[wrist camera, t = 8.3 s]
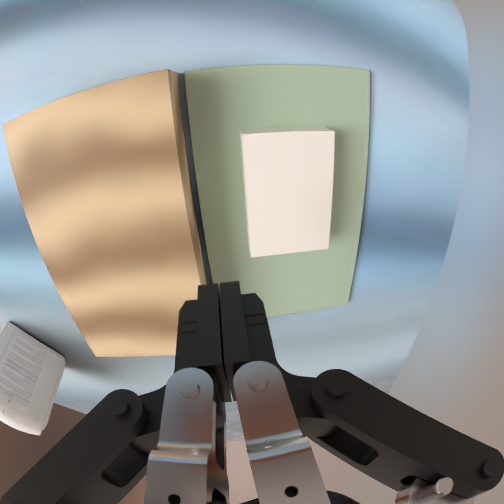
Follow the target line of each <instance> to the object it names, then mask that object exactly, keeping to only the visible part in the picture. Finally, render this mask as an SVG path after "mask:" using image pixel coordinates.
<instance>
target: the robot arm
mask: <svg viewBox="0 0 504 504" xmlns="http://www.w3.org/2000/svg"><path fill="white" fill-rule="evenodd" d="M219 287H220V291H219ZM177 333H178V334H177V342H176V356H175V370H174V374H173V375H172V376H171V377H170V378H169V380H168V382H167V384H166V385H165V386H163V387H162V388H160V389H158V390H156V391H153V392H150V393H147V394H144V395H140V396H138V395H137V394H136V393H134V392H132V391H130V390H126V389H119V390H115V391H113V392H111V393H109V394H108V395H107V396H106V397H105V398H104V399H103V400H102V401H100V402H99V403H98V404H97V405H96V406H95V407H94V408H93V409H92V410H91V411H90V412H89V413H88V414H87V415H86V416H85V417H84V418H83V419H82V420H81V421H80V422H79V423H78V424H77V425H76V426H75V427H74V428H73V429H72V430H70V432H68V433H67V434H66V435H65V436H64V437H63V438H62V439H61V440H60V441H59V442H58V443H57V444H56V445H55V446H54V447H53V448H52V449H51V450H50V451H49V452H48V453H47V454H46V455H45V456H43V457H42V459H40V460H39V461H38V462H37V463H36V464H35V465H34V466H33V467H32V468H31V469H30V470H29V471H28V472H27V473H26V474H25V475H24V476H23V477H22V478H21V479H20V480H19V481H18V482H17V483H15V484H14V485H13V486H12V487H11V488H10V489H9V490H8V491H7V492H6V493H5V494H4V495H3V496H2V498H1V501H0V504H118V503H119V502H120V501H121V500H122V499H123V498H124V497H125V496H126V495H127V494H128V493H129V491H131V490H132V489H133V488H134V486H136V484H137V483H138V482H139V481H140V480H141V479H142V478H143V477H144V476H145V475H146V483H145V494H144V504H229V484H228V483H229V482H228V476H227V468H226V411H225V402H232V401H231V393H232V397H233V401H237V405H238V410H239V415H240V419H241V424H242V429H243V433H244V438H245V442H246V447H247V452H248V457H249V461H250V466H251V470H252V474H253V478H254V482H255V487H256V491H257V495H258V498H256V499H254V500H250V501H248V502H244V503H241V504H360V503H358V502H357V501H355V500H353V499H351V498H349V497H347V496H345V495H342V494H339V493H336V492H332V491H327V490H326V489H325V486H324V483H323V480H322V477H321V474H320V471H319V469H318V466H317V463H316V460H315V457H314V454H313V451H312V449H311V446H310V443H309V442H308V439H307V438H306V437H305V436H307V437H308V438H310V439H311V440H312V441H314V442H315V443H317V444H318V445H320V446H321V447H323V448H324V449H326V450H327V451H329V452H331V453H332V454H334V455H335V456H337V457H338V458H340V459H341V460H343V461H345V462H346V463H348V464H350V465H351V466H353V467H355V468H356V469H358V470H360V471H361V472H363V473H365V474H366V475H368V476H370V477H372V478H373V479H375V480H377V481H379V482H381V483H383V484H385V485H386V486H388V487H390V488H392V489H394V490H396V491H398V493H397V495H396V499H395V504H473V502H474V500H475V498H476V496H477V495H479V494H481V493H483V492H486V491H488V490H490V489H492V488H494V487H495V486H496V485H497V484H498V483H499V482H500V480H501V478H502V476H503V474H504V458H503V456H502V454H501V453H500V452H499V451H498V450H497V449H495V448H492V447H490V446H488V445H486V444H484V443H482V442H479V441H477V440H475V439H473V438H471V437H469V436H467V435H465V434H463V433H460V432H458V431H456V430H454V429H452V428H450V427H448V426H446V425H444V424H443V423H440V422H439V421H437V420H434V419H433V418H431V417H429V416H427V415H425V414H423V413H421V412H419V411H417V410H416V409H414V408H412V407H410V406H408V405H406V404H404V403H403V402H401V401H399V400H397V399H395V398H393V397H392V396H390V395H388V394H386V393H385V392H383V391H381V390H379V389H377V388H376V387H374V386H372V385H370V384H369V383H367V382H365V381H363V380H362V379H360V378H358V377H357V376H355V375H353V374H351V373H350V372H348V371H345V370H341V369H331V370H327V371H325V372H323V373H321V374H320V375H319V376H317V378H313V377H303V376H296V375H293V374H290V373H288V372H286V371H285V370H284V369H282V368H281V367H280V365H279V364H278V362H277V360H276V357H275V352H274V348H273V343H272V339H271V335H270V330H269V326H268V321H267V317H266V312H265V308H264V303H263V301H262V300H261V299H260V298H259V296H258V295H257V294H256V293H249V294H241V291H240V284H239V281H230V282H222V283H219V285H218V283H214V284H204V285H198V296H197V299H196V300H186V301H185V302H184V304H183V306H182V307H181V309H180V310H179V317H178V329H177ZM230 389H231V391H230Z"/></svg>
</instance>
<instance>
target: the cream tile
mask: <svg viewBox="0 0 504 504" xmlns="http://www.w3.org/2000/svg"><path fill="white" fill-rule="evenodd" d="M334 140H335V131H333V130H331V129H329V128H326V127H280V128H261V129H246V130H240V142H241V156H242V169H243V182H244V196H245V209H246V222H247V235H248V245H249V250H250V255H251V258H252V257H261V256H270V255H278V254H287V253H296V252H304V251H313V250H322V249H328V247H329V236H330V223H331V209H332V193H333V173H334Z"/></svg>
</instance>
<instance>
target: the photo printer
mask: <svg viewBox="0 0 504 504" xmlns="http://www.w3.org/2000/svg"><path fill="white" fill-rule="evenodd" d="M65 366H66V360H65V358H64V357H63V356H61V355H60V354H59V353H57V352H55V351H54V350H52V349H50V348H49V347H47V346H46V345H44V344H42V343H41V342H39V341H38V340H36V339H34V338H33V337H31V336H30V335H28V334H27V333H25V332H24V331H22V330H21V329H19V328H18V327H16V326H15V325H13V324H11V323H10V322H6V323H5V324H4V326H3V327H2V329H1V331H0V420H1V421H2V422H4V423H5V424H7V425H9V426H11V427H13V428H15V429H18V430H20V431H23V432H26V433H30V434H35V435H40V434H41V431H42V430H43V429H44V428H45V427H46V425H47V423H48V420H49V416H50V412H51V409H52V405H53V402H54V399H55V396H56V393H57V389H58V386H59V383H60V380H61V377H62V374H63V371H64V369H65Z"/></svg>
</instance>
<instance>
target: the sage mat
mask: <svg viewBox="0 0 504 504" xmlns="http://www.w3.org/2000/svg"><path fill="white" fill-rule="evenodd" d="M184 75H185V86H186V96H187V106H188V115H189V124H190V133H191V141H192V149H193V157H194V165H195V173H196V180H197V187H198V194H199V201H200V208H201V215H202V221H203V228H204V234H205V240H206V247H207V253H208V259H209V264H210V270H211V276H212V282H213V284H214V283H218V285H219V283H222V282H230V281H239V284H240V291H241V294H249V293H256V294H257V295H258V296H259V298H260V299H261V300H262V301H263V303H264V308H265V312H266V317H271V316H278V315H285V314H292V313H299V312H305V311H312V310H318V309H324V308H330V307H336V306H342V305H347V304H348V301H349V295H350V290H351V285H352V280H353V274H354V268H355V262H356V256H357V250H358V243H359V236H360V229H361V221H362V213H363V204H364V195H365V184H366V173H367V159H368V143H369V117H370V71H369V70H362V69H353V68H344V67H333V66H318V65H291V64H272V65H244V66H229V67H218V68H208V69H200V70H192V71H185V72H184ZM280 127H326V128H329V129H331V130H333V131H335V140H334V173H333V193H332V209H331V223H330V236H329V247H328V249H322V250H313V251H304V252H296V253H287V254H278V255H270V256H261V257H252V258H251V255H250V250H249V245H248V235H247V222H246V209H245V196H244V182H243V169H242V156H241V142H240V130H246V129H261V128H280ZM219 291H220V287H219Z"/></svg>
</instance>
